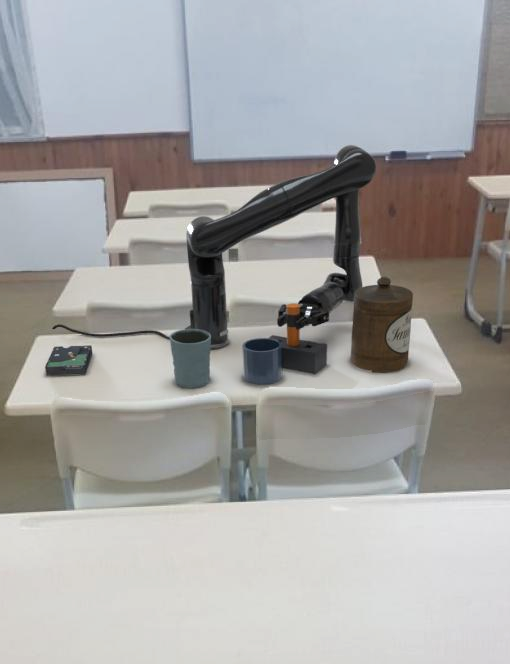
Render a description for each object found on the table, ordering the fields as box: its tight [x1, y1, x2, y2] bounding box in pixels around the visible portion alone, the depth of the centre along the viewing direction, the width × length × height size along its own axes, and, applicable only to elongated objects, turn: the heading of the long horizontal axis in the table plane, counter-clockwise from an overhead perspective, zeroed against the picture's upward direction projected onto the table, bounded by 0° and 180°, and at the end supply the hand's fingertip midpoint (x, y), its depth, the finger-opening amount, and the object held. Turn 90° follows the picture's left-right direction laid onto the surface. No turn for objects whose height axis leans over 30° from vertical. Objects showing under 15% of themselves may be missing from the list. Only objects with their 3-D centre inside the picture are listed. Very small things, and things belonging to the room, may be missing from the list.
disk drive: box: [44, 344, 93, 377], centre depth 223 cm, size 10×3×15 cm
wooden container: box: [350, 276, 414, 373], centre depth 214 cm, size 15×15×22 cm
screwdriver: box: [286, 302, 301, 346], centre depth 215 cm, size 3×3×16 cm
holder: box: [268, 334, 328, 375], centre depth 218 cm, size 16×7×6 cm, turn 61°
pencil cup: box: [241, 337, 283, 386], centre depth 210 cm, size 10×10×9 cm
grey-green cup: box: [169, 328, 211, 389], centre depth 209 cm, size 10×10×12 cm
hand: (288, 324), depth 211 cm, fingers open, 4 cm apart
